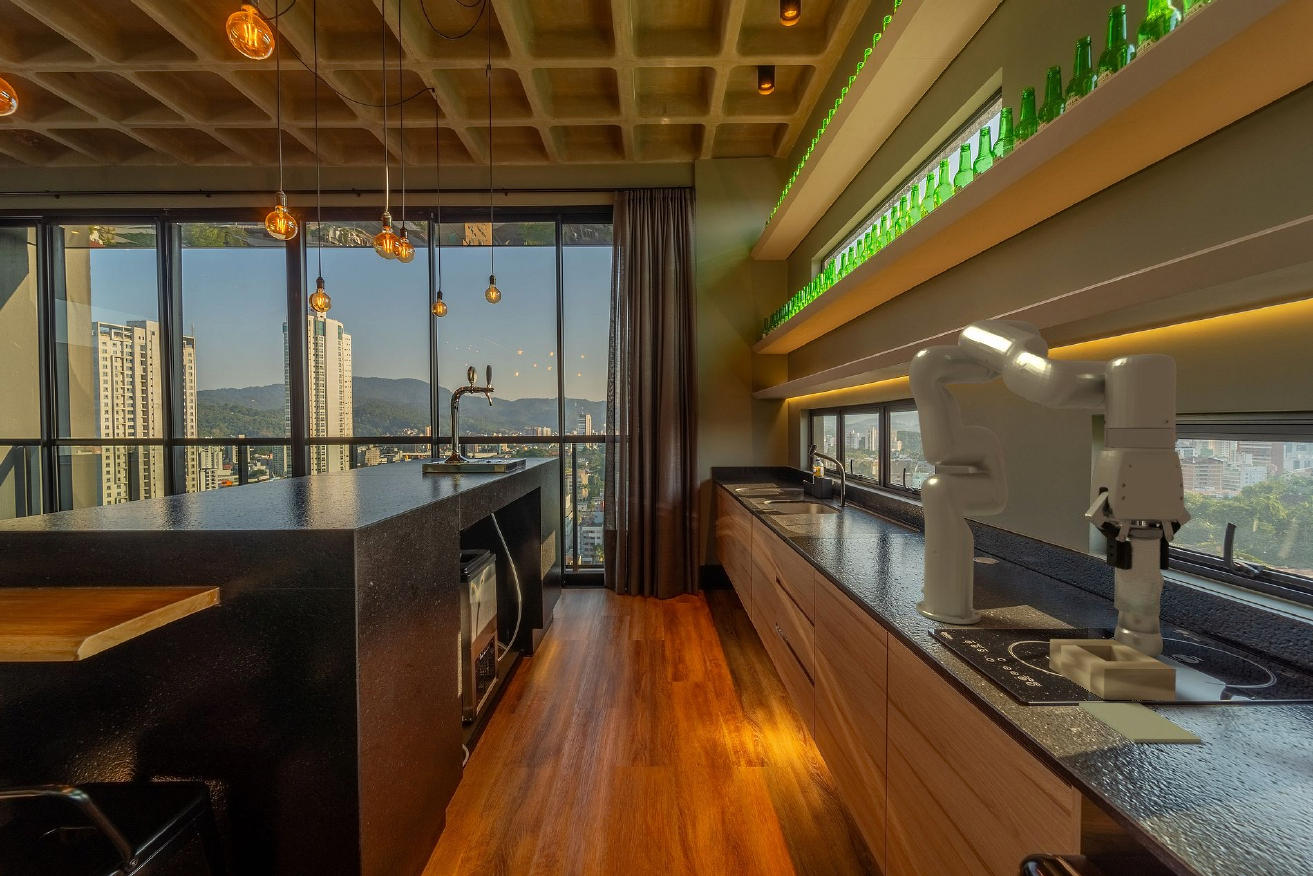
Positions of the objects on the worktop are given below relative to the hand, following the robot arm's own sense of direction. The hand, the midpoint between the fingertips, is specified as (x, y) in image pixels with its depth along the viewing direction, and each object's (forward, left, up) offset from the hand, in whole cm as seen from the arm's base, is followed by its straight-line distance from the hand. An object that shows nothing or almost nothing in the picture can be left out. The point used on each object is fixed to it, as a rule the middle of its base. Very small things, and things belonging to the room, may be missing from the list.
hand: (1136, 566), depth 75 cm
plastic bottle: (-21, +20, -22) cm, 36 cm away
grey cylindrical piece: (0, 0, -6) cm, 6 cm away
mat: (+2, -1, -22) cm, 22 cm away
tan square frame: (-10, +5, -22) cm, 24 cm away
